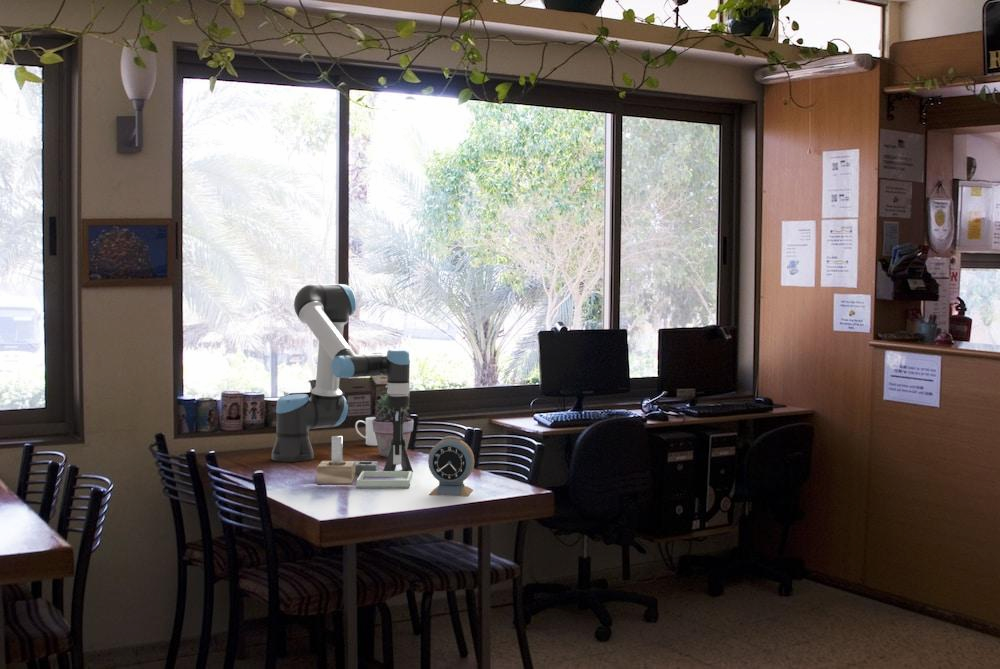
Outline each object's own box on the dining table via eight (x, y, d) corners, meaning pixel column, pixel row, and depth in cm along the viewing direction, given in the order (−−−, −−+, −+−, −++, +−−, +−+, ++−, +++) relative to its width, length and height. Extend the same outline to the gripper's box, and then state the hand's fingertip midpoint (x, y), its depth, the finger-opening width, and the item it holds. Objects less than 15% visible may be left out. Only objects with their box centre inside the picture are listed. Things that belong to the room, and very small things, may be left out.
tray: (362, 478, 367) (362, 471, 367) (412, 478, 367) (412, 471, 367) (356, 488, 350) (356, 480, 350) (408, 488, 351) (408, 480, 350)
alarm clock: (425, 495, 340) (425, 438, 339) (431, 488, 350) (432, 433, 349) (471, 496, 338) (471, 439, 337) (476, 490, 348) (476, 434, 347)
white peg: (332, 480, 362) (332, 435, 362) (343, 480, 362) (343, 435, 362) (330, 482, 359) (330, 437, 358) (341, 483, 359) (341, 437, 358)
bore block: (322, 478, 366) (322, 460, 366) (355, 478, 366) (355, 461, 366) (317, 485, 355) (317, 466, 355) (351, 485, 355) (351, 466, 355)
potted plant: (368, 450, 425) (368, 386, 424) (418, 451, 424) (419, 386, 423) (360, 458, 407) (360, 391, 406) (413, 459, 406) (413, 391, 405)
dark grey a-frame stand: (388, 476, 371) (388, 440, 371) (382, 473, 377) (382, 438, 376) (413, 474, 375) (413, 439, 374) (407, 471, 380) (407, 437, 380)
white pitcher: (383, 442, 446) (383, 416, 446) (387, 445, 439) (387, 419, 438) (353, 443, 442) (353, 417, 442) (357, 446, 435) (357, 420, 434)
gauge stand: (354, 472, 378) (354, 461, 377) (378, 472, 378) (378, 461, 377) (352, 476, 370) (352, 465, 369) (375, 477, 370) (375, 465, 369)
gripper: (389, 391, 384) (389, 457, 385) (384, 398, 364) (384, 467, 366) (411, 392, 384) (411, 457, 385) (407, 398, 365) (407, 467, 366)
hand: (398, 462), depth 376 cm, fingers closed on dark grey a-frame stand, 7 cm apart
